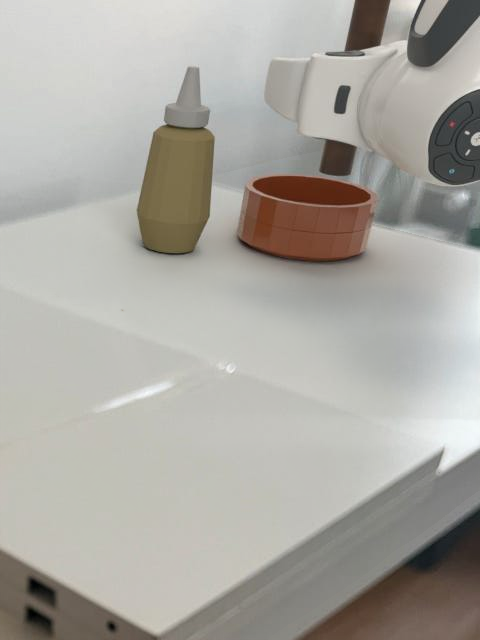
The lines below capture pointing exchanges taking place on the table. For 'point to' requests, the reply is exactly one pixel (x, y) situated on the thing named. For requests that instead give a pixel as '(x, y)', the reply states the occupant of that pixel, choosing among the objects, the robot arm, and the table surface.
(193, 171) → the squeeze bottle
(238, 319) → the table surface
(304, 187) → the bowl
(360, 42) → the stirring stick
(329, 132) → the robot arm
